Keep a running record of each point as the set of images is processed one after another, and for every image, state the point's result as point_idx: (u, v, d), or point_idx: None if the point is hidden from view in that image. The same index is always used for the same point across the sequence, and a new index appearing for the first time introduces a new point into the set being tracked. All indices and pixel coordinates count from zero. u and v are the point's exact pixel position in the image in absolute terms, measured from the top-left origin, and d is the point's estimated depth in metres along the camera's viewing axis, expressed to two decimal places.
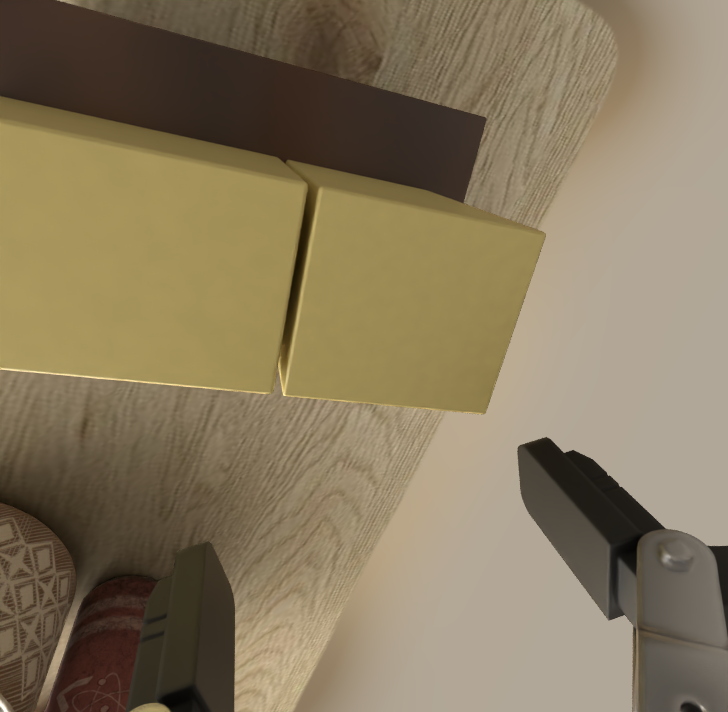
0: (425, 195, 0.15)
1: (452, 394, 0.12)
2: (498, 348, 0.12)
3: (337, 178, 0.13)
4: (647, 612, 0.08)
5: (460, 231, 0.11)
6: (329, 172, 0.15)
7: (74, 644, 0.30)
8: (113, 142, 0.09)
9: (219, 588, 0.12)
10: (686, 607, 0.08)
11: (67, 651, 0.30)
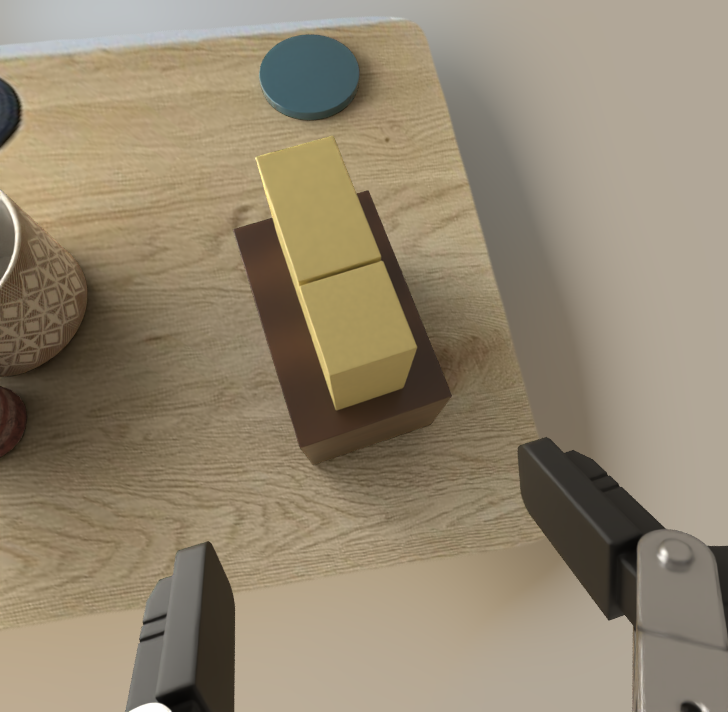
0: None
1: (332, 353, 0.25)
2: (362, 360, 0.25)
3: None
4: (647, 612, 0.08)
5: (397, 313, 0.26)
6: None
7: None
8: None
9: (219, 587, 0.12)
10: (686, 607, 0.08)
11: None
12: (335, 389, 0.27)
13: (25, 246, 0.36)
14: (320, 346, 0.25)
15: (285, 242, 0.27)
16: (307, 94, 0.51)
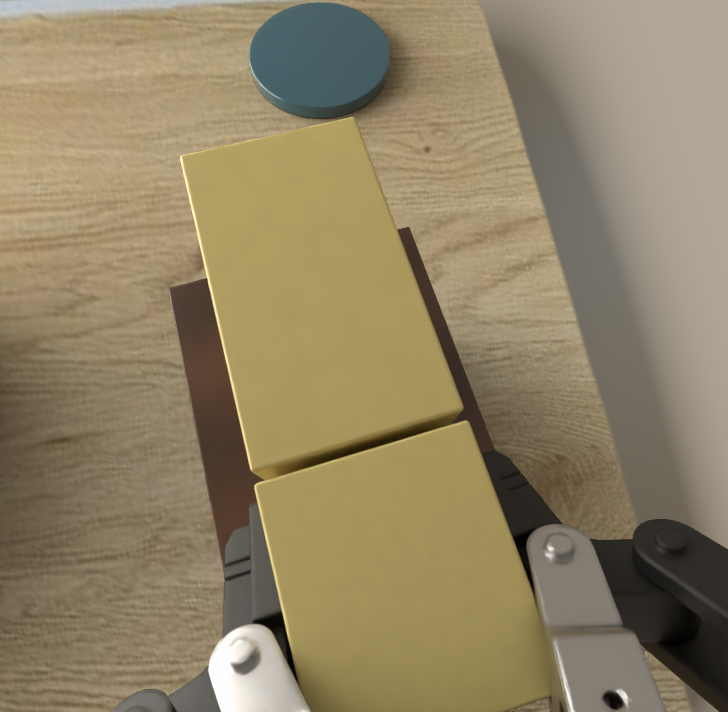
0: None
1: (331, 701, 0.09)
2: None
3: None
4: (550, 611, 0.09)
5: (510, 576, 0.10)
6: None
7: None
8: (412, 271, 0.12)
9: None
10: (580, 596, 0.09)
11: None
12: None
13: None
14: (299, 675, 0.09)
15: (229, 362, 0.11)
16: (315, 82, 0.36)
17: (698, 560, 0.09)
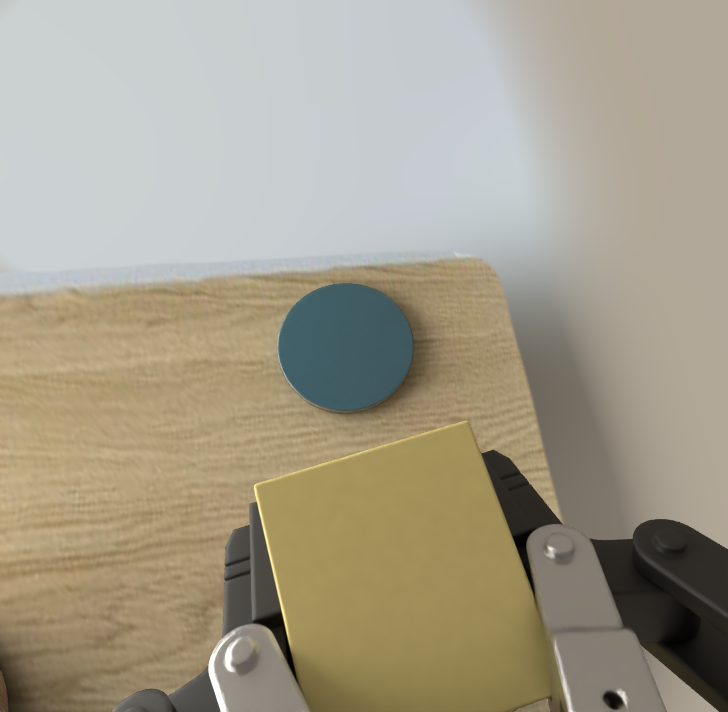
0: None
1: (331, 702, 0.09)
2: None
3: None
4: (550, 611, 0.09)
5: (510, 577, 0.10)
6: None
7: None
8: None
9: None
10: (580, 596, 0.09)
11: None
12: None
13: None
14: (299, 675, 0.09)
15: None
16: (342, 379, 0.37)
17: (698, 560, 0.09)
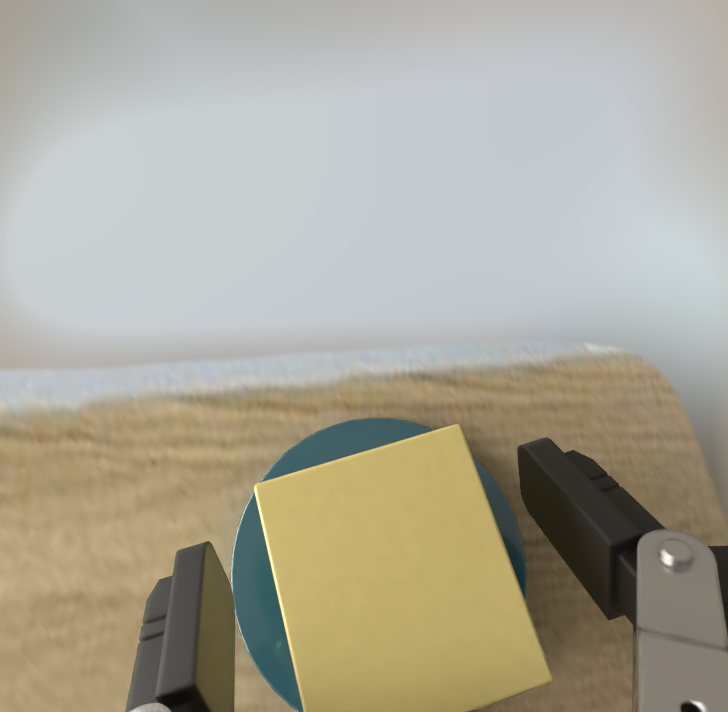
0: None
1: (326, 692, 0.09)
2: None
3: None
4: (647, 612, 0.08)
5: (499, 574, 0.10)
6: None
7: None
8: None
9: (219, 587, 0.12)
10: (686, 607, 0.08)
11: None
12: None
13: None
14: (296, 667, 0.09)
15: None
16: None
17: None
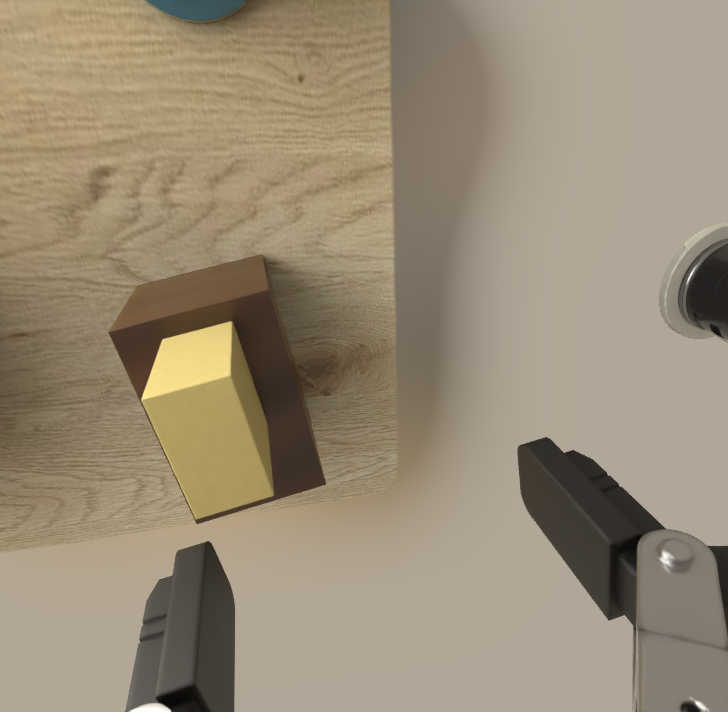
0: None
1: None
2: None
3: None
4: (647, 612, 0.08)
5: None
6: None
7: None
8: (257, 448, 0.28)
9: (219, 587, 0.12)
10: (686, 607, 0.08)
11: None
12: None
13: None
14: None
15: (181, 487, 0.28)
16: None
17: None
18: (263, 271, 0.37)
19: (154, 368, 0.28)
